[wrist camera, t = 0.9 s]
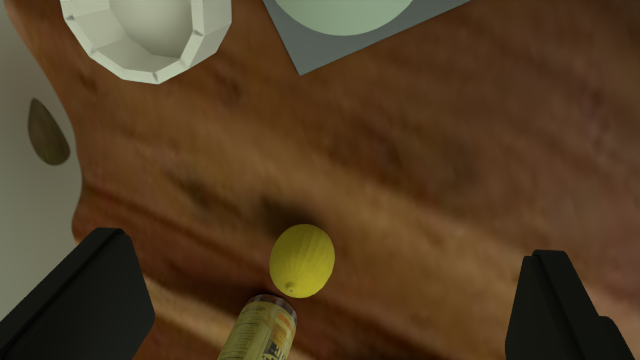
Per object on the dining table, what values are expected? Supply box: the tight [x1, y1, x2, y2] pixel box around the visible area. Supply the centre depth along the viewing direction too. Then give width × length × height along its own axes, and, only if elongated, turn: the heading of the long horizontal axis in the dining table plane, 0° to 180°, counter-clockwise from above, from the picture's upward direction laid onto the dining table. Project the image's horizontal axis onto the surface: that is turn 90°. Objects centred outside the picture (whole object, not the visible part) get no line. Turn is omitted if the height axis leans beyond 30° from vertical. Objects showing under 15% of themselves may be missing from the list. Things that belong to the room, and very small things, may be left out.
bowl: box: [60, 0, 232, 84], centre depth 32 cm, size 10×10×5 cm
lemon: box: [270, 224, 335, 298], centre depth 39 cm, size 6×6×8 cm
